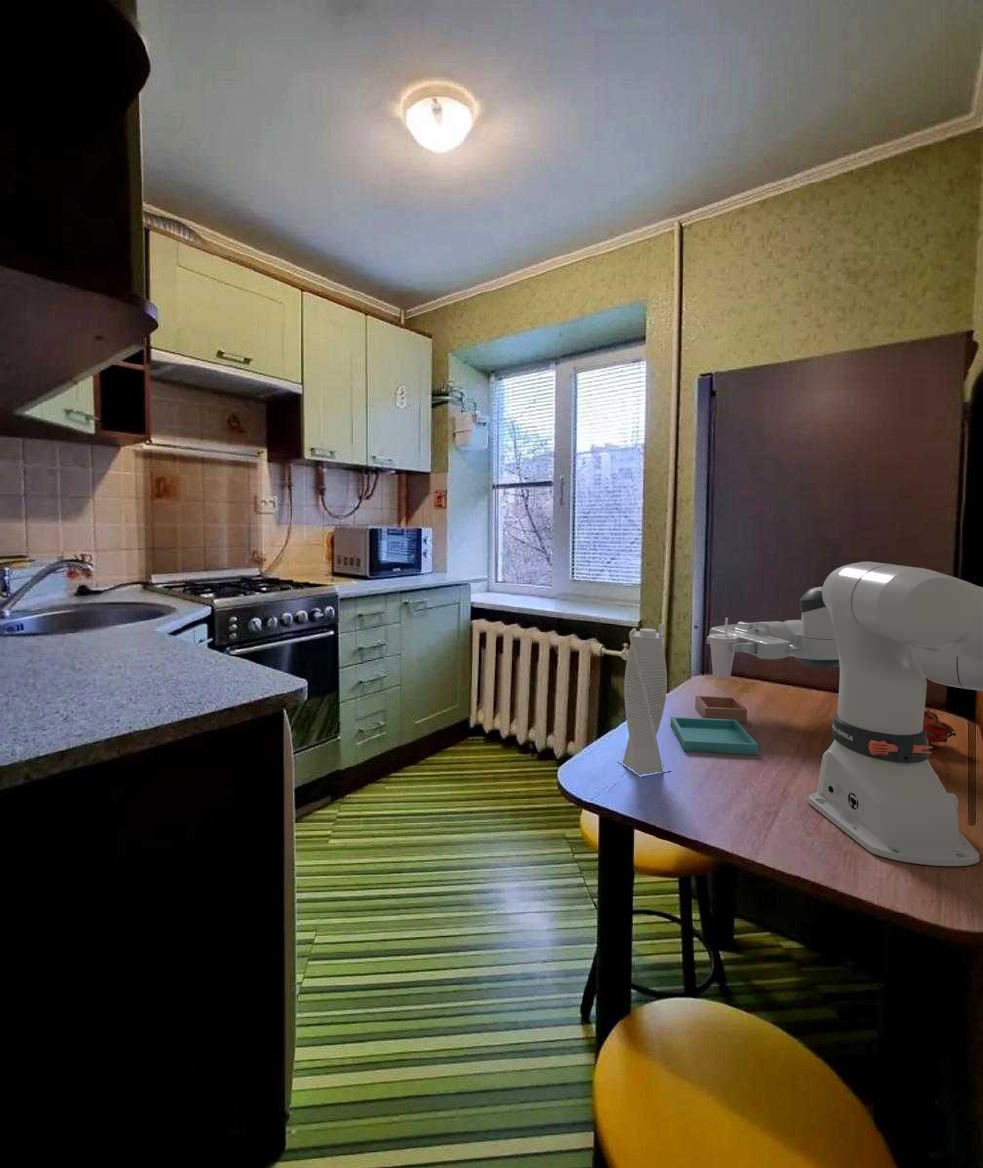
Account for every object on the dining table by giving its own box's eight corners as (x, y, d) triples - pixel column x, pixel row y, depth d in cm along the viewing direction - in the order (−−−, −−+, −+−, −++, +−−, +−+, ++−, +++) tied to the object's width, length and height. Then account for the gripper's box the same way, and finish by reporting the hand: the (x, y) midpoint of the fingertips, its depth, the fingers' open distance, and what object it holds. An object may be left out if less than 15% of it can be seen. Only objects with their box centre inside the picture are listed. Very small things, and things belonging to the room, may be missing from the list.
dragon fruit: (877, 739, 122) (946, 764, 113) (875, 726, 116) (947, 751, 107) (891, 705, 123) (960, 727, 115) (889, 690, 118) (962, 712, 109)
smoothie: (741, 680, 128) (744, 620, 126) (713, 680, 128) (715, 620, 126) (729, 673, 134) (732, 615, 133) (702, 673, 134) (705, 615, 133)
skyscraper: (676, 776, 101) (683, 623, 98) (639, 783, 98) (645, 626, 95) (647, 757, 109) (652, 615, 106) (612, 764, 106) (616, 618, 103)
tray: (757, 755, 109) (758, 744, 109) (683, 751, 111) (684, 741, 111) (735, 728, 123) (736, 719, 123) (670, 725, 125) (670, 716, 125)
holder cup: (746, 722, 127) (747, 709, 127) (704, 720, 128) (705, 707, 128) (734, 709, 136) (734, 697, 136) (695, 707, 137) (695, 695, 137)
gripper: (802, 663, 125) (752, 668, 121) (736, 644, 144) (691, 648, 140) (804, 635, 124) (754, 639, 120) (737, 620, 143) (692, 623, 139)
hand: (719, 644), depth 130 cm, fingers closed on smoothie, 6 cm apart
